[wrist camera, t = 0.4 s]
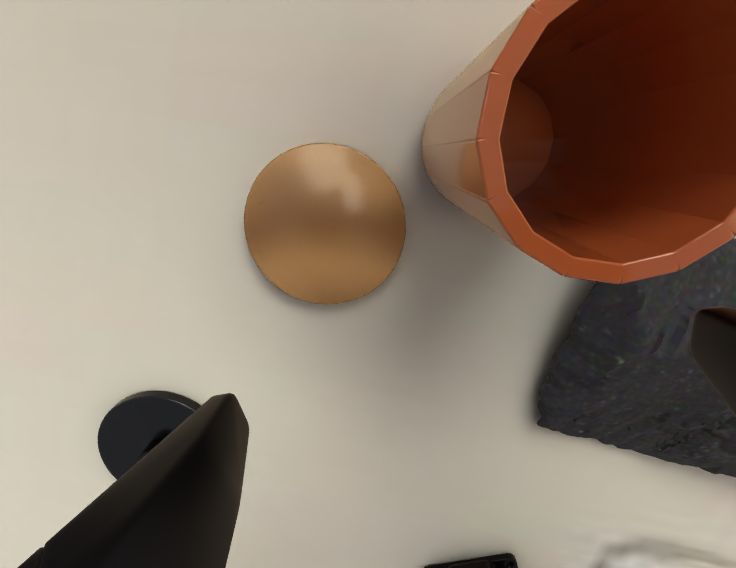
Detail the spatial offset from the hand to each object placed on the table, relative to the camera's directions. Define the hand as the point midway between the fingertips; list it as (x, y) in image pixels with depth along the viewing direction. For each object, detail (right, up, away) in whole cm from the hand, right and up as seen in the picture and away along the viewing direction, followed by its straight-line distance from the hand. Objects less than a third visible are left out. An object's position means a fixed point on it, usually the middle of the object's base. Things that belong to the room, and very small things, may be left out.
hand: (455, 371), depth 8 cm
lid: (-15, -9, +18) cm, 25 cm away
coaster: (-4, +5, +14) cm, 15 cm away
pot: (+4, +9, +12) cm, 16 cm away
